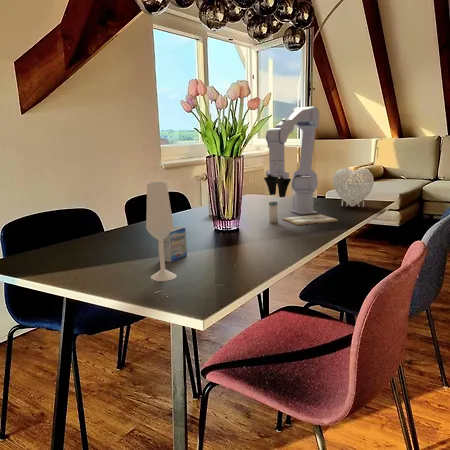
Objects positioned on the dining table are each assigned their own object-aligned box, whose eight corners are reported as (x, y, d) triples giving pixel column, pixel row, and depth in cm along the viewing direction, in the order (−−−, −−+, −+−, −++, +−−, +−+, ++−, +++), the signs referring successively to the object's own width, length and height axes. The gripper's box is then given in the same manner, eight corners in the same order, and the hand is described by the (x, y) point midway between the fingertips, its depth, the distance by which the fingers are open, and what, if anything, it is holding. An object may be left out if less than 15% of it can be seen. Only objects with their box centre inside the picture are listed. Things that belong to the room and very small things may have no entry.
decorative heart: (376, 205, 203) (377, 167, 200) (368, 209, 195) (369, 169, 191) (338, 203, 214) (338, 167, 210) (329, 207, 205) (329, 169, 202)
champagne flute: (144, 278, 114) (137, 183, 109) (161, 271, 119) (155, 180, 114) (165, 282, 110) (158, 184, 105) (181, 274, 116) (176, 181, 111)
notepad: (282, 219, 181) (282, 217, 181) (320, 215, 186) (320, 213, 186) (298, 225, 169) (298, 223, 169) (337, 221, 174) (337, 218, 174)
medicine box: (170, 262, 127) (168, 232, 125) (158, 261, 129) (156, 231, 128) (187, 255, 134) (186, 227, 132) (175, 254, 136) (173, 226, 134)
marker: (267, 222, 177) (267, 201, 176) (275, 221, 179) (275, 201, 177) (271, 223, 174) (271, 203, 173) (279, 222, 175) (279, 202, 174)
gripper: (258, 160, 176) (259, 194, 179) (276, 161, 163) (277, 199, 166) (274, 159, 179) (275, 193, 181) (293, 160, 165) (294, 197, 168)
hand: (277, 195), depth 174 cm, fingers open, 7 cm apart
